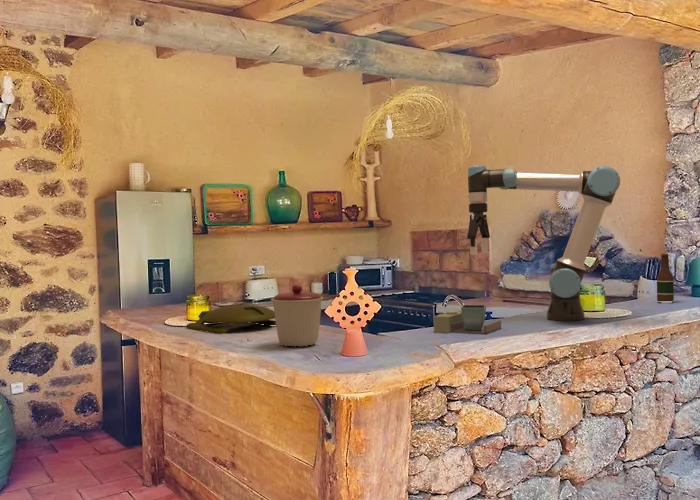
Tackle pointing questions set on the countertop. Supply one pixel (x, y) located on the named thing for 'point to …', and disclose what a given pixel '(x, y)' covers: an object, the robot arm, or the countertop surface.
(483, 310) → the flower pot
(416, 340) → the countertop surface
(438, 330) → the olive stepped block
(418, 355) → the countertop surface
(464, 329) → the chute
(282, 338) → the canister
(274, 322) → the spaceship
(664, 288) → the beer bottle
